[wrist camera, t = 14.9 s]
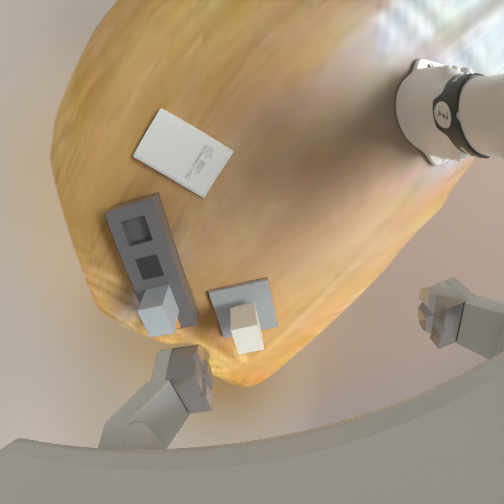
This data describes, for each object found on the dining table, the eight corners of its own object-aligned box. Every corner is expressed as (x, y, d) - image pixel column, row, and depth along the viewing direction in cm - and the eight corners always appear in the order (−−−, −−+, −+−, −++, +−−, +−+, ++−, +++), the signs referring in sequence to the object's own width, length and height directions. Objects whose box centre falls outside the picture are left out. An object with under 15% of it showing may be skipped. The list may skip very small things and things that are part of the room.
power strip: (158, 192, 44) (152, 199, 41) (198, 312, 53) (197, 327, 50) (112, 206, 45) (103, 214, 41) (157, 320, 54) (153, 334, 50)
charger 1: (169, 284, 47) (162, 305, 41) (179, 310, 49) (174, 333, 43) (146, 289, 47) (136, 310, 41) (157, 314, 49) (149, 337, 43)
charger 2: (253, 296, 52) (257, 324, 44) (259, 319, 54) (263, 349, 46) (230, 301, 52) (230, 330, 45) (237, 324, 54) (238, 354, 47)
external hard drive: (162, 108, 40) (233, 150, 43) (135, 155, 42) (204, 196, 46) (160, 108, 39) (234, 151, 42) (131, 156, 41) (203, 199, 44)
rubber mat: (267, 277, 51) (267, 279, 51) (277, 324, 55) (278, 326, 55) (208, 290, 52) (208, 292, 51) (224, 335, 56) (224, 338, 55)
